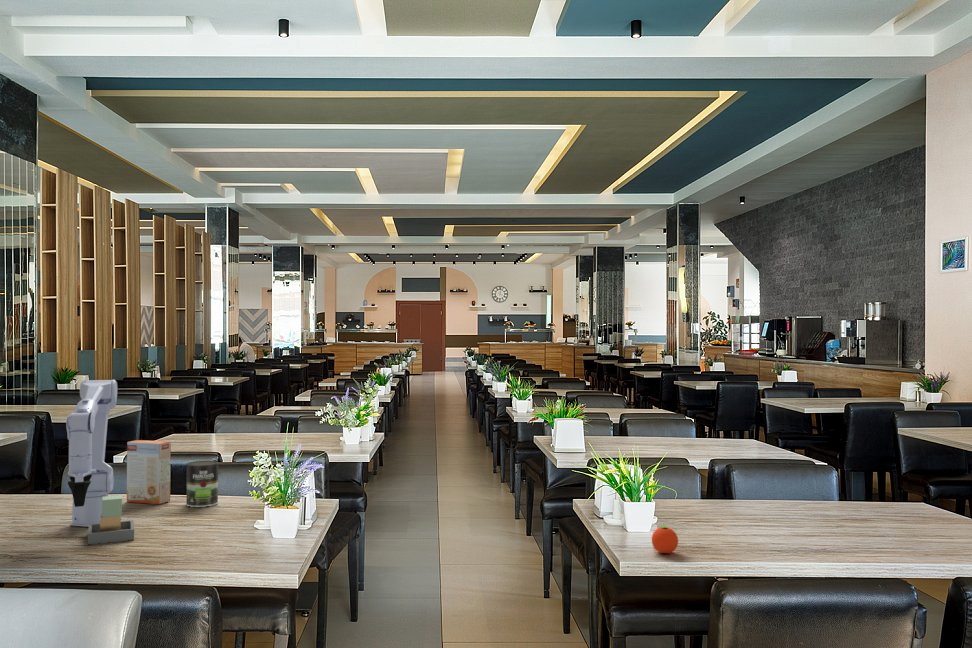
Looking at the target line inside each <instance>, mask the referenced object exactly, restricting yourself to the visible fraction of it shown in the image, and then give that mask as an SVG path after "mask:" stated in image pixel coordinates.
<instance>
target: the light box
mask: <svg viewBox="0 0 972 648" xmlns="http://www.w3.org/2000/svg"><path fill="white" fill-rule="evenodd" d="M122 513H123V495H122V494H121V495H120V494H119V495H108V496H106V497H102V518H108V517H119V516H121V517H122V516H123V514H122Z"/></svg>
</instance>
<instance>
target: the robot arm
mask: <svg viewBox="0 0 972 648" xmlns="http://www.w3.org/2000/svg"><path fill="white" fill-rule="evenodd" d="M79 396H80V399H81V400H79V401H78V402H77V404H76V406H75V408H74V411H73V412H71V413H70V414H68V415H67V417H66V422H65V424H66V425H65V426H66V427H65V428H66V433H67V440H68V470H67V475H68V476H69V480H68V481H67V485H68V487H69V489H70V491H71V493H72V503H71V505H72V507H71V509H72V510H71V512H72V514H71V516H72V517H71V518H72V519H71V523H69V526H75V527H86V528H89V524H98V523H100V515H101V514H102V497H106V496H109V495H108V494H111V493H112V491H113V489H114V481H115V479H114V477H115V476H114V469H113V467H112V466H111V465H109V464H108V463H106V462H105V459H106V446H107V435H108V434H107V433H108V422H109V419H108V418H109V414H110V411H111V410H112V409H115V408H116V405H117V402H118V401H117V400H118V382H117V381H116V379H97V380H96V379H95V380H94V379H89V380H88V379H87V380H86V379H83V380H82V381H81V382H80V385H79Z"/></svg>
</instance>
